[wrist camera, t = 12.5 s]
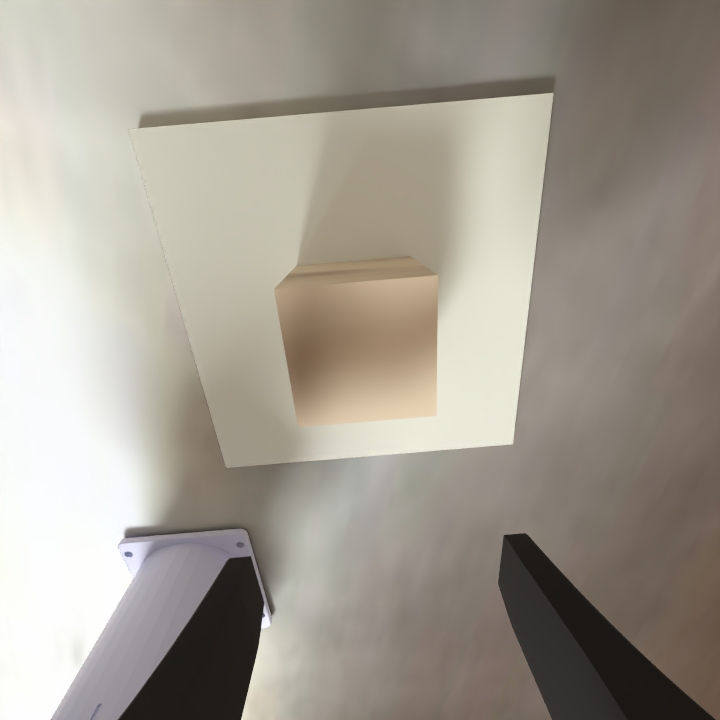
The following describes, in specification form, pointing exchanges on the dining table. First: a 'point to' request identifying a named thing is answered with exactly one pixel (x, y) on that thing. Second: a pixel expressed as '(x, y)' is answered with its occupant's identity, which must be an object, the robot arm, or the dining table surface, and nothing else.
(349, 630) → the dining table surface
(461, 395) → the pad
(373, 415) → the cube
